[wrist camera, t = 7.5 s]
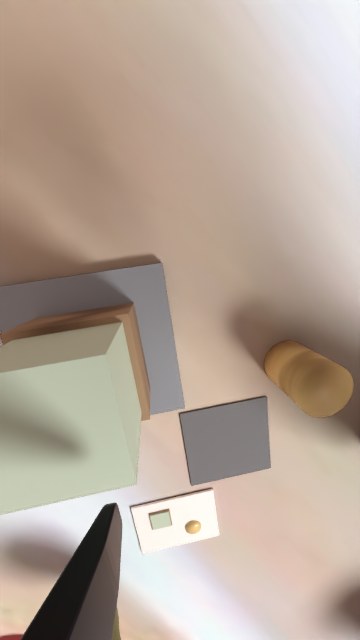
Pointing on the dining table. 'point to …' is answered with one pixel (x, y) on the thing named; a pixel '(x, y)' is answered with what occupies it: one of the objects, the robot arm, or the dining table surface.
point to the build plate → (102, 291)
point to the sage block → (67, 417)
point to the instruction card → (176, 521)
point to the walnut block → (91, 319)
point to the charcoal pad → (226, 440)
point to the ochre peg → (309, 378)
